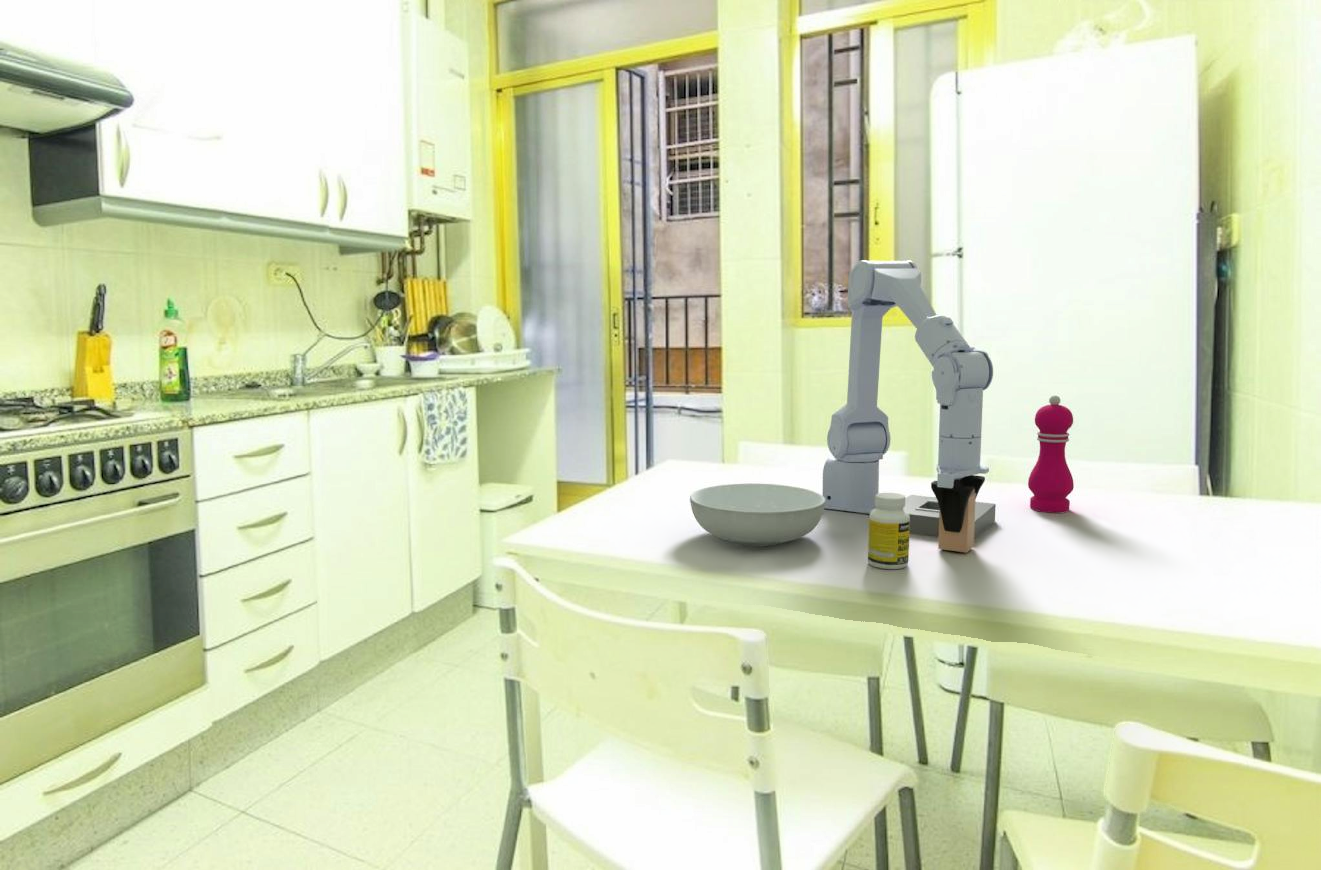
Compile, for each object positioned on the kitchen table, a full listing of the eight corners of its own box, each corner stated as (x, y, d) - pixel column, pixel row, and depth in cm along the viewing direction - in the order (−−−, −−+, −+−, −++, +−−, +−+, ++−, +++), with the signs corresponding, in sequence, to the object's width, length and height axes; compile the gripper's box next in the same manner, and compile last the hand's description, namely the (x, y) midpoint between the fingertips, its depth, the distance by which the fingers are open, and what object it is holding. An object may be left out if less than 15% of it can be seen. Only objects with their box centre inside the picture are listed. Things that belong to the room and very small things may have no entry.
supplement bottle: (902, 572, 109) (904, 501, 107) (862, 566, 112) (864, 497, 110) (913, 562, 113) (915, 493, 112) (874, 556, 116) (876, 489, 115)
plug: (938, 548, 118) (940, 490, 117) (946, 542, 122) (947, 485, 120) (966, 552, 116) (968, 493, 115) (973, 545, 119) (975, 488, 118)
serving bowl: (812, 563, 114) (813, 515, 113) (672, 551, 121) (671, 506, 120) (834, 526, 133) (834, 486, 132) (712, 518, 141) (711, 479, 140)
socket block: (883, 529, 131) (883, 509, 131) (910, 511, 142) (911, 493, 142) (973, 541, 123) (974, 520, 123) (994, 521, 135) (995, 502, 134)
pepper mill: (1027, 511, 141) (1032, 397, 138) (1026, 503, 147) (1031, 393, 144) (1074, 515, 138) (1080, 397, 135) (1070, 505, 144) (1076, 394, 142)
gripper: (976, 444, 108) (972, 543, 110) (1000, 431, 120) (997, 520, 122) (923, 440, 112) (920, 536, 114) (952, 428, 124) (949, 514, 126)
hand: (956, 527), depth 118 cm, fingers closed on plug, 4 cm apart
